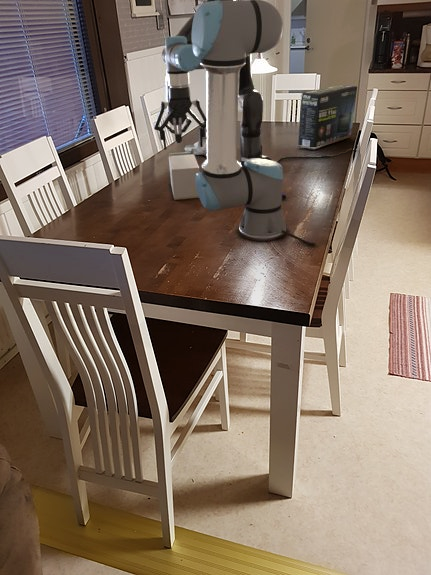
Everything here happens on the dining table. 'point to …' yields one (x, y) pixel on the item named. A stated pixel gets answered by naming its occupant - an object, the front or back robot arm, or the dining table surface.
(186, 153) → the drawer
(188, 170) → the white box
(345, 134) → the router box
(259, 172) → the front robot arm
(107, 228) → the dining table surface
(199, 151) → the fossil
